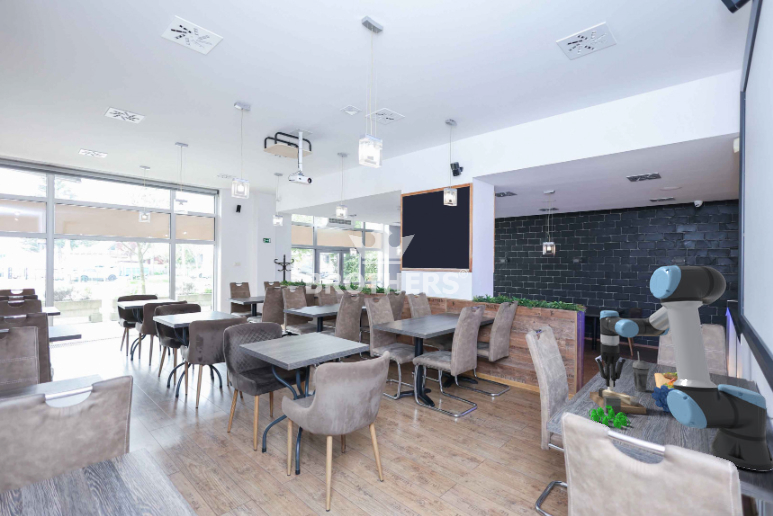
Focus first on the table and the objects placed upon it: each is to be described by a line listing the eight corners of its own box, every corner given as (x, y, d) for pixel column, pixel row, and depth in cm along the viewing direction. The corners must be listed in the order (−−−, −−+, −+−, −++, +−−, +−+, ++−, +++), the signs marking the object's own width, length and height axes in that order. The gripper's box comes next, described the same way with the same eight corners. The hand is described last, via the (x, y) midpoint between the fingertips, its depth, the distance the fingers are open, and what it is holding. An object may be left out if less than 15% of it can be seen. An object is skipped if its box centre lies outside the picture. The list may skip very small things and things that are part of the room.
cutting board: (718, 403, 176) (718, 387, 176) (657, 393, 189) (657, 378, 189) (706, 382, 205) (706, 369, 205) (654, 375, 218) (654, 362, 218)
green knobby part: (593, 412, 165) (593, 396, 165) (633, 422, 154) (633, 406, 154) (583, 423, 154) (583, 406, 154) (625, 435, 143) (625, 417, 143)
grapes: (652, 413, 163) (652, 386, 163) (650, 407, 169) (651, 381, 169) (685, 419, 157) (686, 391, 157) (683, 413, 163) (683, 386, 163)
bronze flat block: (647, 416, 160) (647, 399, 160) (606, 413, 162) (606, 398, 162) (624, 399, 179) (624, 384, 179) (587, 397, 181) (587, 383, 181)
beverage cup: (651, 393, 187) (652, 353, 187) (635, 392, 189) (635, 352, 189) (644, 388, 194) (645, 350, 194) (629, 387, 196) (629, 349, 196)
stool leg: (640, 404, 165) (640, 397, 164) (637, 406, 162) (637, 399, 162) (601, 394, 177) (601, 387, 177) (598, 396, 174) (598, 389, 174)
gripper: (620, 341, 178) (621, 391, 178) (591, 341, 179) (592, 390, 179) (628, 345, 170) (629, 397, 170) (598, 345, 172) (599, 396, 172)
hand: (610, 393), depth 175 cm, fingers closed
